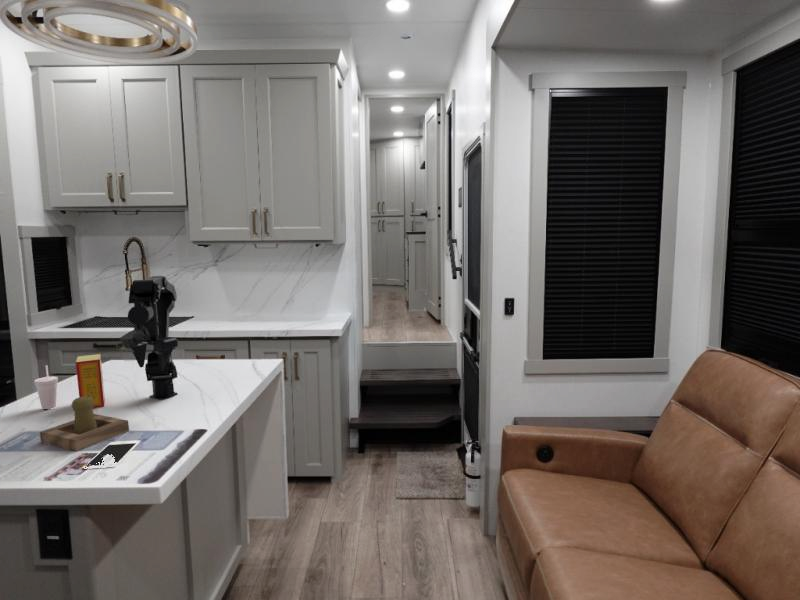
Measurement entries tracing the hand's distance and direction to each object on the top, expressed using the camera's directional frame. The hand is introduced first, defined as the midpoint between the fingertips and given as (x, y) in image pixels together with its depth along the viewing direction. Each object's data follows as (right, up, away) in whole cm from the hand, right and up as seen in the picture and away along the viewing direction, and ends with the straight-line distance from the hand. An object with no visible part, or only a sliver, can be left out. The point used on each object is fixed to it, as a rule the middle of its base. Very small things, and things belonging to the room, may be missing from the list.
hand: (151, 368), depth 162 cm
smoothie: (-35, -14, +4) cm, 38 cm away
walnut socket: (-8, -16, -21) cm, 27 cm away
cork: (-8, -16, -20) cm, 27 cm away
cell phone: (+6, -18, -33) cm, 38 cm away
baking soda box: (-23, -13, +7) cm, 27 cm away
